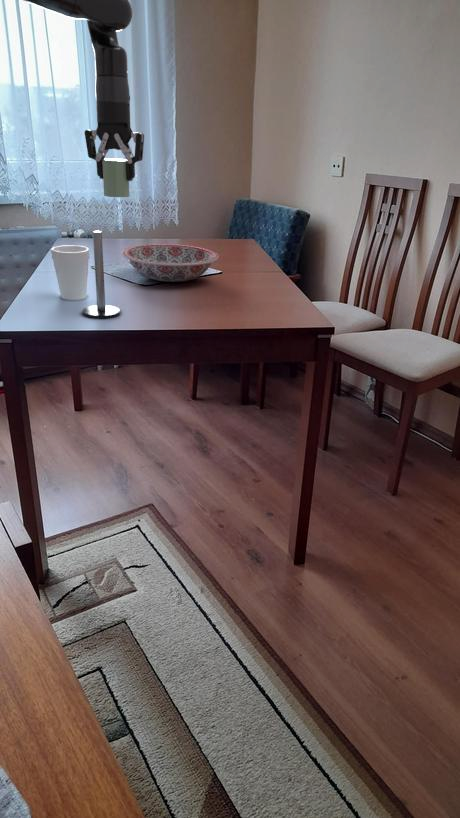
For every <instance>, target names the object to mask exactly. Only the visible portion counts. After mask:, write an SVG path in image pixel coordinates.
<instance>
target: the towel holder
mask: <svg viewBox="0 0 460 818" xmlns="http://www.w3.org/2000/svg"><path fill="white" fill-rule="evenodd" d="M92 240H93V258H94V275H95V292H96V295H95V297H96V304H95V305H90V306H86V307H84V308H83V309H82V315H83V316H84V317H85V318H88V319H92V320H110V319H115V318H117V317H119V316H120V315H121V309H120V308H119V307H117V306H114V305H109V304H106V292H105V291H106V290H105V272H104V270H105V269H104V251H103V231H101V230H94V231H92Z"/></svg>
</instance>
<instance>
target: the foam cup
mask: <svg viewBox="0 0 460 818" xmlns="http://www.w3.org/2000/svg"><path fill="white" fill-rule="evenodd" d="M50 253H51V259H52V263H53V267H54V271H55V275H56V280H57V284H58V288H59V293H60V297H61V299H63V300H65V301H66V300H67V301H81V300H84V299H86V298H87V291H88V276H89V262H90V257H91V256H90V255H91V254H90V248H89V247H87V246H84V245H73V244H68V245H67V244H65V245H56V246H53V247H52V248H51V249H50Z"/></svg>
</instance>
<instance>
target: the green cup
mask: <svg viewBox="0 0 460 818" xmlns="http://www.w3.org/2000/svg"><path fill="white" fill-rule="evenodd" d="M102 160H103V162H102V164H103V179H102V181H103V196H104V197H109V198H129V197H130V181H127V164H128V162H127V160H126V159H123V158H104V159H102Z"/></svg>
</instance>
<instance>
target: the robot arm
mask: <svg viewBox="0 0 460 818" xmlns="http://www.w3.org/2000/svg"><path fill="white" fill-rule="evenodd" d="M23 1H24V2H26V3H29V4H32V5H34V6H36V7H39V8H42V9H44V10H47V11H50V12H52V13H56V14H58V15H60V16H64V17H66V18H70V19H73V20H86V25H87V28H88V33H89V36H90V41H91V46H92V48H93V52H94V67H95V68H94V69H95V88H94V89H95V106H96V107H95V108H96V122H97V127H96V129H85V130H84V138H85V139H84V140H85V145H86V151H87V156H88V158H89V159H92V160H94V161H95V162H96V174H97V176H98V177H99V179H100V180H103V164H102V162H103V160H102V159H106V156H107V153H108V152H109V150H115V151H121V153H122V155H123V156H124V158H125V160H127V162H128V164H127V181H129V182H132V181H133V180H134V179H135V177H136V167H135V166H136V163H137V162H142V161H143V158H144V144H145V134H144V133H143V132H133V130H132V128H131V95H130V84H129V73H128V70H129V69H128V54H127V51H126V49H125V47H123V46H121V45H120V44H119V39H118V34H117V32H120V31H123V30H125V29H127V28H128V27H129V25H130V24H131V22H132V19H133V8H132V5H131V3H130V1H129V0H23ZM97 138H98V139H99V141H100V143H99V146H98V149H97V146H96V140H97ZM131 139H133V143H135V145H134V154H133V151H132V148H131V146H130V144H129V143H130V141H131Z"/></svg>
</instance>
